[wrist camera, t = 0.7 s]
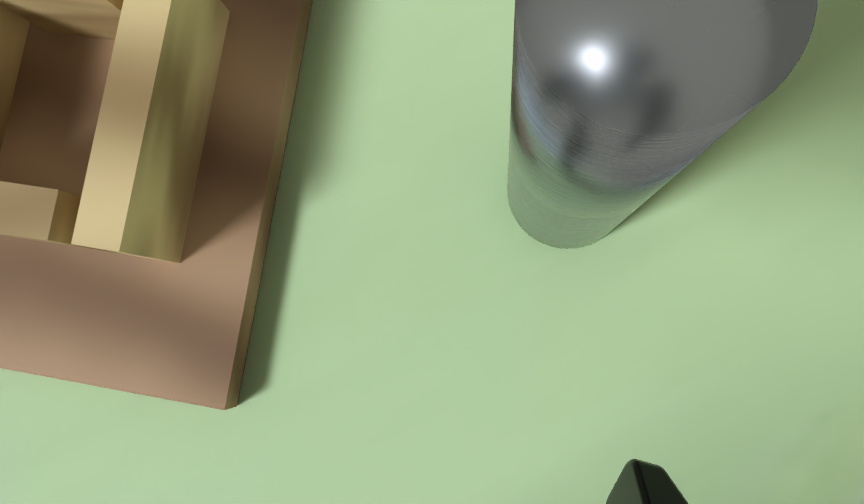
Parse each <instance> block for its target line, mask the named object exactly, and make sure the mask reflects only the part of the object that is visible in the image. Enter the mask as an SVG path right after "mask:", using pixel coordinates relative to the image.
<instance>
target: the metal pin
mask: <svg viewBox="0 0 864 504" xmlns="http://www.w3.org/2000/svg"><path fill="white" fill-rule="evenodd" d="M817 1H818V0H515V17H514V42H513V67H512V91H511V116H510V140H509V165H508V200H509V205H510V208H511V211H512V213H513V215H514V217H515V219H516V221H517V222H518V224H519V225H520V226H521V227H522V229H523V230H524V231H525V232H526V233H528V234H529V235H530V236H531V237H533V238H534V239H536V240H537V241H539V242H541V243H543V244H546V245H549V246H552V247H557V248H566V249H568V248H579V247H584V246H587V245H590V244H592V243H594V242H597V241H598V240H600V239H602V238H603V237H605V236H606V235H607V234H608V233H609V232H611V231H612V230H613V229H614V228H615V227H616V226H618V225H619V224H620V223H621V222H622V221H623V220H625V219H626V218H627V217H628V216H629V215H630V214H632V213H633V212H634V211H635V210H636V209H637V208H638V207H640V206H641V205H642V204H643V203H644V202H645V201H647V200H648V199H649V198H650V197H651V196H652V195H654V194H655V193H656V192H657V191H658V190H659V189H661V188H662V187H663V186H664V185H665V184H666V183H667V182H669V181H670V180H671V179H672V178H673V177H674V176H676V175H677V174H678V173H679V172H680V171H681V170H683V169H684V168H685V167H686V166H687V165H688V164H690V163H691V162H692V161H693V160H694V159H695V158H697V157H698V156H699V155H700V154H701V153H702V152H703V151H705V150H706V149H707V148H708V147H709V146H710V145H712V144H713V143H714V142H715V141H716V140H717V139H719V138H720V137H721V136H722V135H723V134H724V133H726V132H727V131H728V130H729V129H730V128H731V127H732V126H734V125H735V124H736V123H737V122H738V121H739V120H741V119H742V118H743V117H744V116H745V115H746V114H748V113H749V112H750V111H751V110H752V109H753V108H755V107H756V106H757V105H758V104H759V103H760V102H761V101H763V100H764V99H765V98H766V97H767V96H768V95H770V94H771V93H772V92H773V91H774V90H775V89H776V88H777V87H778V86H779V85H780V84H781V83H782V82H783V81H784V79H785V78H786V77H787V76H788V75H789V74H790V72H791V71H792V69H793V68H794V66H795V65H796V63H797V62H798V61H799V59H800V57H801V55H802V53H803V51H804V49H805V47H806V45H807V43H808V41H809V38H810V35H811V32H812V29H813V26H814V21H815V16H816V10H817Z"/></svg>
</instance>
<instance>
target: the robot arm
mask: <svg viewBox="0 0 864 504" xmlns="http://www.w3.org/2000/svg"><path fill="white" fill-rule="evenodd" d="M606 504H688V502H687V501H686V500H685V498H684V497H683V495H682V494H681V492H680V491H679V490H678V488H677V487H676V485H675V484H674V482H673V481H672V480H671V478H670V477H669V475H668V474H667V472H666V471H665V470H664V469H663V468H662V467H660V466H658V465H656V464H652V463H648V462H645V461H641V460H637V459H632V460H630V461H628V462H627V464H626V465H625V467H624V468H623V470H622V472H621V474H620V476H619V478H618V480H617V482H616V483H615V485H614V487H613V489H612V491H611V493H610V495H609V497H608V499H607V502H606Z"/></svg>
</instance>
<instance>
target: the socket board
mask: <svg viewBox="0 0 864 504" xmlns="http://www.w3.org/2000/svg"><path fill="white" fill-rule="evenodd" d="M311 5H312V0H0V368H3V369H9V370H14V371H19V372H25V373H30V374H35V375H41V376H46V377H51V378H57V379H62V380H67V381H73V382H78V383H83V384H89V385H94V386H99V387H105V388H110V389H115V390H121V391H126V392H131V393H137V394H142V395H147V396H153V397H158V398H163V399H169V400H174V401H179V402H185V403H190V404H195V405H201V406H206V407H211V408H217V409H222V410H226V409H229V408H233V407H236V406H237V403H238V398H239V392H240V387H241V382H242V376H243V371H244V365H245V360H246V355H247V349H248V344H249V338H250V333H251V328H252V322H253V317H254V312H255V306H256V301H257V295H258V290H259V285H260V279H261V274H262V269H263V263H264V258H265V252H266V247H267V242H268V236H269V231H270V226H271V220H272V215H273V209H274V204H275V199H276V193H277V188H278V183H279V177H280V172H281V166H282V161H283V156H284V150H285V145H286V140H287V134H288V129H289V123H290V118H291V113H292V107H293V102H294V97H295V91H296V86H297V80H298V75H299V70H300V64H301V59H302V54H303V48H304V43H305V37H306V32H307V27H308V21H309V16H310V10H311Z"/></svg>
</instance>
